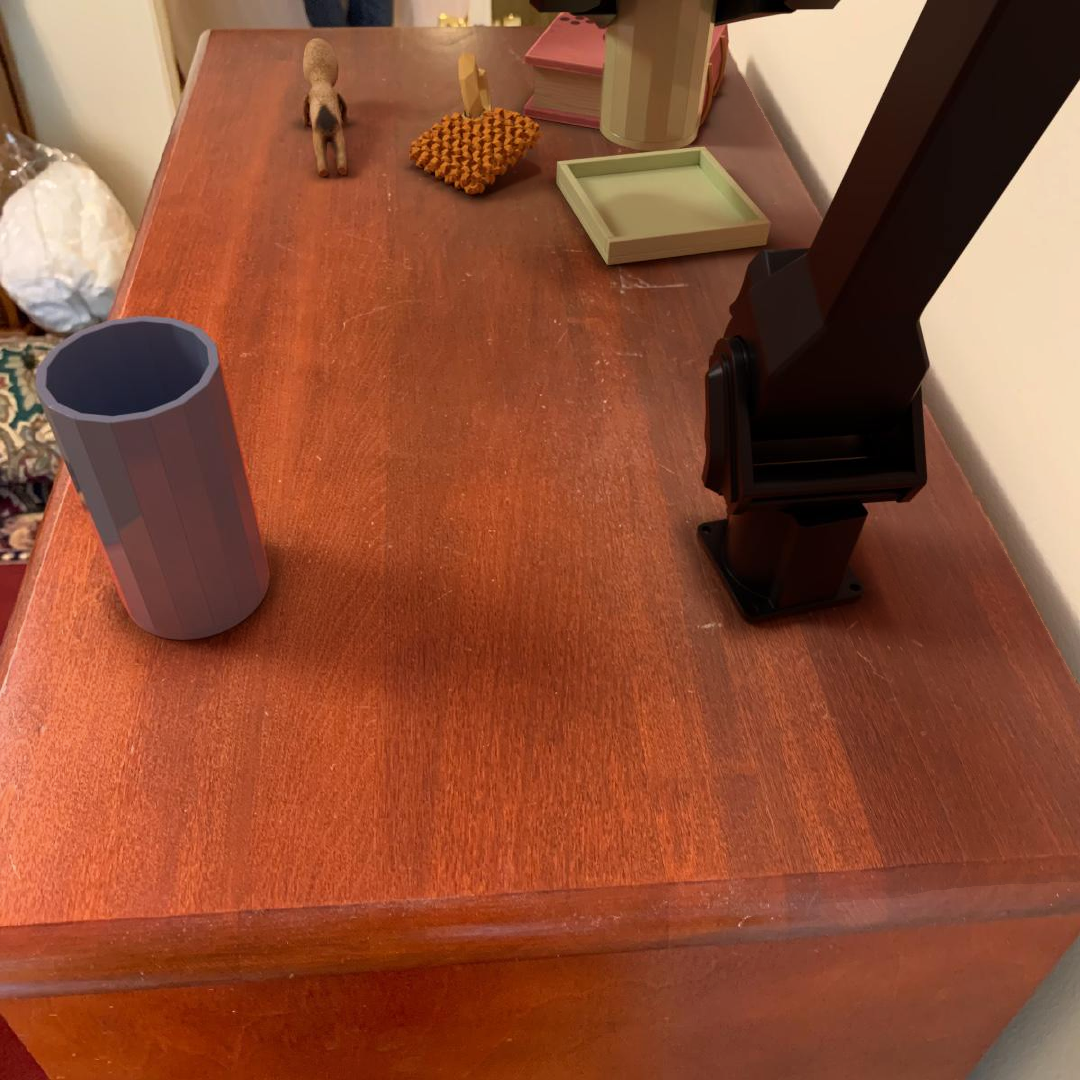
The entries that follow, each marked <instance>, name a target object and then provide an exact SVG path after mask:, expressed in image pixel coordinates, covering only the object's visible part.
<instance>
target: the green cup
mask: <svg viewBox="0 0 1080 1080" xmlns="http://www.w3.org/2000/svg"><path fill="white" fill-rule="evenodd" d="M717 1H718V0H616V6H617V14H616V16H615V18H614V19H613V20H612V22H611V23H610V25H609V26H608V27H606V29H605V43H604V57H603V71H602V86H601V100H600V114H599V116H600V124H599V128H600V129H599V130H600V133H601V134H602V136H603V137H604V138H606V139H607V140H608V141H609V142H611V143H614V144H616V145H619V146H622V147H624V148H627V149H631V150H632V149H633V150H636V151H637V150H638V151H646V152H655V151H666V150H674V149H682V148H684V147H686V146H688V145H690V144H692V143H693V142H694V141H695V140H696V139H697V137H698V133H699V127H700V126H701V125H700V120H701V113H702V106H703V99H704V92H705V85H706V78H707V71H708V64H709V57H710V50H711V43H712V36H713V29H714V22H715V15H716V8H717Z"/></svg>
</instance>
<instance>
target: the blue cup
mask: <svg viewBox="0 0 1080 1080" xmlns="http://www.w3.org/2000/svg"><path fill="white" fill-rule="evenodd" d="M219 351H220V350H219V348H218V345H217V343H216V342H215V341H214V340H213V339H212V338H211V337H210V335H208V333H206V331H204V330H203V329H202V328H201V327H200V326H199V327H198V326H197V325H194V324H191V323H188V322H186V321H184V320H180V319H177V318H175V317H173V318H172V317H165V316H164V317H163V316H151V315H138V316H131V317H123V318H114V319H109V320H106V321H103V322H100V323H97V324H95V325H92V326H88V327H85V328H83V329H80V330H78V331H76V332H74V333H73V334H71V335H69V336H67V338H65V339H63V340H62V341H60V342H58V343H57V344H56V345H54V346H53V347H52V348H51V349H50V350H49V351H48V353H47V354H46V355H45V356H44V358H43V359H42V361H41V362H40V363H39V365H37V367H36V370H35V371H36V372H35V383H34V385H35V386H34V389H35V393H36V395H37V399H38V400H39V403H40V405H41V407H42V411H43V413H44V415H45V418H46V420H47V423H48V425H49V427H50V430H51V432H52V434H53V438H54V439H55V442H56V444H57V447H58V449H59V452H60V454H61V456H62V458H63V462H64V464H65V467H66V469H67V472H68V474H69V476H70V479H71V481H72V484H73V486H74V488H75V491H76V493H77V496H78V498H79V501H80V504H81V505H82V508H83V511H84V513H85V515H86V517H87V521H88V523H89V525H90V527H91V530H92V532H93V535H94V537H95V540H96V542H97V545H98V547H99V550H100V552H101V555H102V558H103V559H104V562H105V565H106V567H107V569H108V571H109V574H110V577H111V579H112V582H113V584H114V586H115V589H116V592H117V593H118V596H119V599H120V601H121V603H122V604H123V606H124V607H125V609H126V612H127V615H128V616H129V617H130V619H131V620H132V621H133V623H134V624H135V625H137V626H138V627H139V628H140V629H142V630H144V631H145V632H147V633H149V634H152V635H153V636H156V637H160V638H163V639H168V640H169V639H170V640H176V641H177V640H178V641H189V640H198V639H204V638H208V637H212V636H215V635H217V634H221V633H224V632H226V631H227V630H229V629H232V628H233V627H235V626H236V625H238V624H240V623H242V622H243V621H244V620H246V619H247V618H249V617H250V615H251V614H252V613H254V611H255V610H257V608H258V607H259V606H260V604H261V603H262V601H263V600H264V598H265V596H266V594H267V592H268V589H269V585H270V578H271V577H270V576H271V574H270V568H269V563H268V558H267V551H266V547H265V543H264V538H263V535H262V530H261V526H260V522H259V518H258V513H257V509H256V504H255V499H254V496H253V492H252V488H251V483H250V479H249V475H248V470H247V467H246V462H245V457H244V454H243V450H242V445H241V441H240V437H239V433H238V429H237V423H236V420H235V415H234V412H233V411H234V410H233V407H232V402H231V398H230V394H229V389H228V386H227V381H226V377H225V373H224V369H223V364H222V361H221V356H220V352H219Z"/></svg>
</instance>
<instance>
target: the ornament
mask: <svg viewBox="0 0 1080 1080" xmlns="http://www.w3.org/2000/svg"><path fill="white" fill-rule="evenodd" d="M476 55H477V54H474V53H468V52H462V54H461V55H460V57H459V58H458V59H457V63H458V64H457V65H458V83H459V87H460V91H461V92H460V93H461V97H462V102H463V107H464V110H463V112H462V115H461V114H459V113H458V112H456V111H454V112H453V114H452V115H451V116H450V117H449V115H448V114H446V115H445V116H443V117H442V118H441V120H440V121H441V124H439V123H438V122H435V123H434V125H433V126H432V127H430V128H429V131H424V133H423V134H421V135H420V136H419V137H418V138H417V140H415V141H412V142H411V144H410V147H411V150H409V151H408V158H409V160H410V161H414V162H415V167H417V168H420V169H423V170H424V172H427V173H428V174H433V173H434V176H435V177H434V178H436V179H438V180H442V179H443V178H444V183H445V184H449V185H451V184H452V183H454V188H455V189H457V190H462V189H464V192H465V194H467V195H475V194H478V193H479V194H483V192H484V191H485V189H486V186H485V184H489V185H492V186H493V184H494V183H495V181H496V176H498V175H500V176H504V174H505V173H506V172H507V167H508V166H510V167H512V168H513V167H514V165H515V164H516V163H517V159H518V158H519V159H521V158H524V157H525V156H526V155H527V149H530V150H532V151H534V150H535V149H536V147H537V146H538V142H537V141H538V140H539V139H541V138H542V137H543V136H542V133H541V130H540V126H539V123H537V122H535V121H534V120H533V119H532V118H531V117H527V116H523V115H521V114H520V113H519V112H517V111H514V110H508V109H504V108H503V107H497V106H496V107H495V108H494V110H492V100H491V91H490V85H489V82H488V77H487V72H486V71H487V70H486V69H483V68H480V67H478V64H477V57H476Z"/></svg>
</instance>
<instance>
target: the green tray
mask: <svg viewBox="0 0 1080 1080" xmlns="http://www.w3.org/2000/svg"><path fill="white" fill-rule="evenodd" d="M555 176H556V178H555V180H556V181H555V183H556V186H557V188H558V189H559V191H560V192H561V194H562V195H563V196H564V199H565V200H566V201H567V204H568V205H569V206H570V208H571V210H572V211H573V212H574V214H575V216H576V218H577V219H578V221H579V222H580V224H581V225H582V228H583V229H584V230H585V232H586V233H587V235H588V237H589V239H590V240H591V242H592V243H593V245H594V247H595V248H596V249H597V251H598V252H599V254H600V256H601V258H602V259H603V261H604V262H605V264H606V265H607V266H612V265H619V264H627V263H628V264H629V263H637V262H644V261H650V260H660V259H668V258H675V257H682V256H683V257H684V256H691V255H692V256H693V255H698V254H707V253H713V252H714V253H715V252H723V251H731V250H738V249H745V248H754V247H763V246H767V244H768V238H769V233H770V228H771V225H772V222H771V221H770V220H769V218H768V217H767V216H766V215H765V214H764V213H763V212H762V211H761V209H760V208H759V207H758V206H757V205H756V203H755V202H754V201H753V200H752V199H751V198H750V197H749V196H748V195H747V193H746V192H745V191H744V189H742V188H741V186H739V184H738V183H737V181H736V180H735V179H734V178H732V176H731V175H730V174H729V173H728V171H727V170H726V169H725V168H724V167H723V166H722V165H721V163H720V162H719V161H718V160H717V159H716V158H715V157H714V155H712V153H711V152H710V151H709V150H708V149H707V148H706V147H705V146H695V147H685V148H684V147H683V148H677V149H673V150H666V151H646V152H637V153H635V152H634V153H627V154H617V155H609V156H608V155H606V156H597V157H588V158H586V157H585V158H577V159H568V160H558V161H556V175H555Z"/></svg>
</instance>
